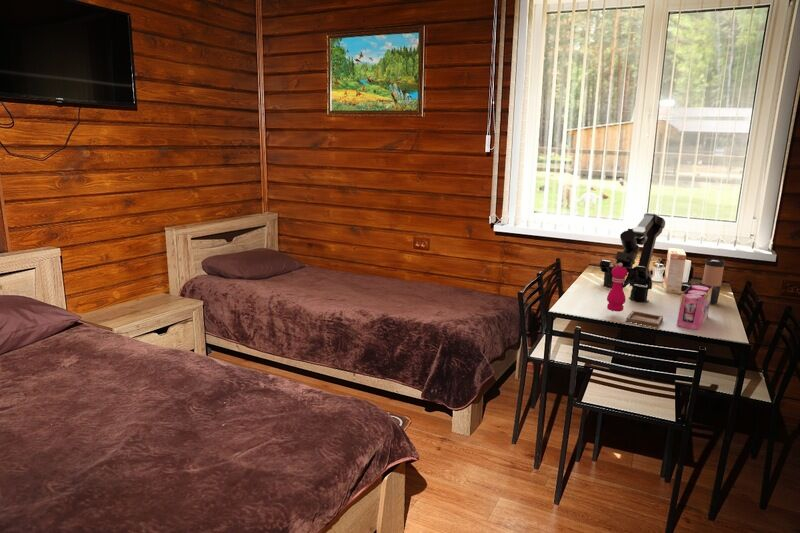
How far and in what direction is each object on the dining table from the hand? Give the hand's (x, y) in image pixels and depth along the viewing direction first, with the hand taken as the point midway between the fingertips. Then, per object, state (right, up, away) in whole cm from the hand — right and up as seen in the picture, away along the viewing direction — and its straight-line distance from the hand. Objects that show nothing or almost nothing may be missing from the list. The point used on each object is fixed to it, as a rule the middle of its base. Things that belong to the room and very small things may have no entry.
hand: (616, 286), depth 229 cm
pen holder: (+18, -2, +52) cm, 55 cm away
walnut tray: (+11, -14, -1) cm, 18 cm away
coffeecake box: (+46, -4, +49) cm, 68 cm away
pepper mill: (+1, -10, +4) cm, 11 cm away
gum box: (+31, -15, +1) cm, 35 cm away
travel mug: (+54, -9, +29) cm, 62 cm away
